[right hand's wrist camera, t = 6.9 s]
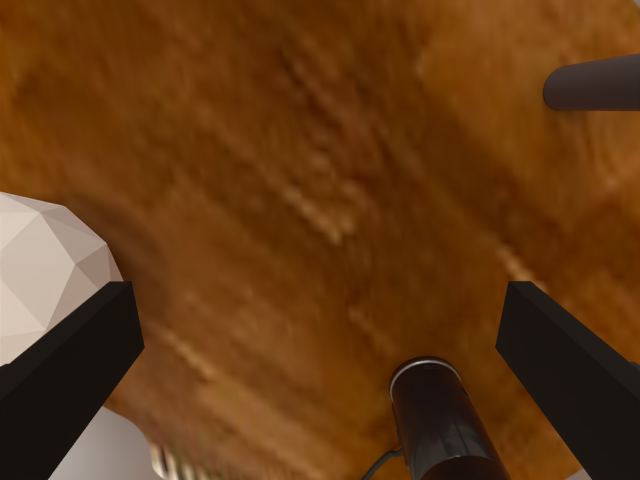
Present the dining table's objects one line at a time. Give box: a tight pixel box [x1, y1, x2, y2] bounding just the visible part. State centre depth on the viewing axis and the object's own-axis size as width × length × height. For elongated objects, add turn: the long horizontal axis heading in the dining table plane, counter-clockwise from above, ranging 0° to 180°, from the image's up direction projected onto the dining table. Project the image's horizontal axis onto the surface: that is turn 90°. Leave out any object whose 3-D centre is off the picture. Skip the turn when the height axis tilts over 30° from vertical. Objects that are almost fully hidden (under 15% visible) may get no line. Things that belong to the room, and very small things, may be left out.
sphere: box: [0, 192, 123, 366], centre depth 33 cm, size 19×20×20 cm
